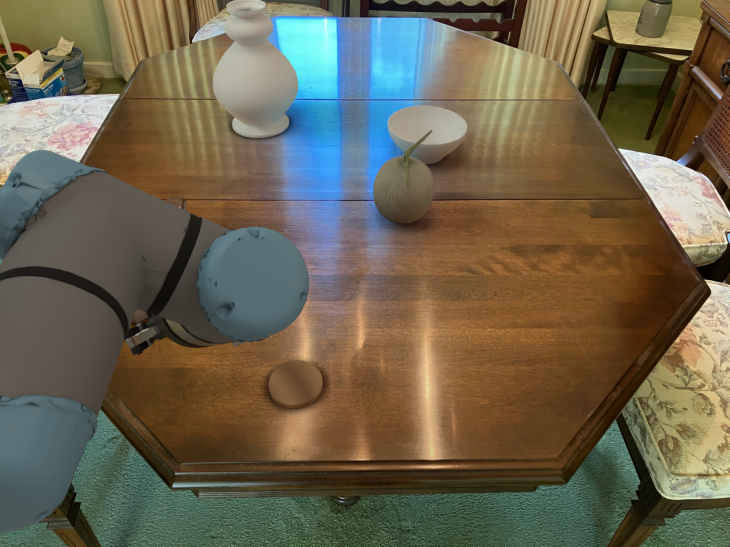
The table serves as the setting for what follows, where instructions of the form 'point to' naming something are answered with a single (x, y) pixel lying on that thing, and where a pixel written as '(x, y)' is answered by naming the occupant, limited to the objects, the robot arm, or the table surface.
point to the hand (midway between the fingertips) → (158, 323)
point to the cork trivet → (295, 384)
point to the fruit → (403, 188)
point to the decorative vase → (254, 74)
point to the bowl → (418, 122)
